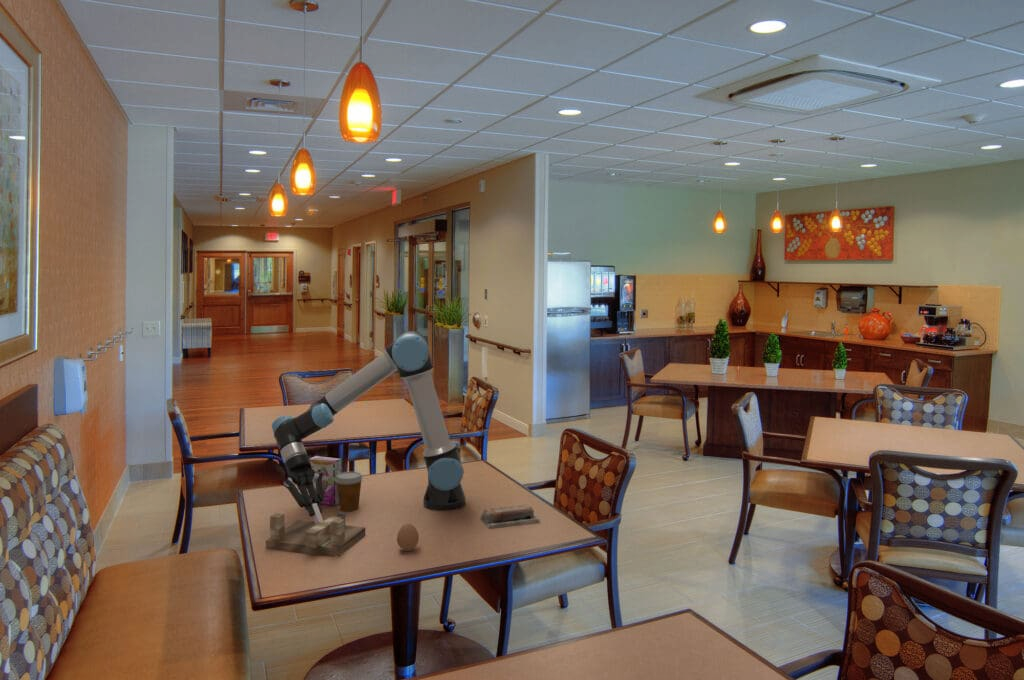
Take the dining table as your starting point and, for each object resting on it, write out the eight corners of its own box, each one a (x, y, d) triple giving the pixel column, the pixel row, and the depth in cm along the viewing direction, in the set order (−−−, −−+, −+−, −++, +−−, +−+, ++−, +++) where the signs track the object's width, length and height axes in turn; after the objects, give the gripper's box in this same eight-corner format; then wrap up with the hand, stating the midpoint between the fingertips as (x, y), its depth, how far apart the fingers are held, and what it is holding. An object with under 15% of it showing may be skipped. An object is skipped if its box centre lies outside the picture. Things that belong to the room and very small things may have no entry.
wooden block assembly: (365, 534, 226) (364, 505, 225) (337, 556, 209) (337, 524, 208) (298, 527, 232) (297, 498, 231) (265, 548, 215) (264, 517, 214)
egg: (403, 545, 218) (403, 519, 217) (422, 547, 216) (422, 521, 215) (393, 553, 212) (393, 526, 211) (413, 555, 210) (412, 528, 209)
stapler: (488, 515, 232) (479, 506, 241) (488, 530, 232) (479, 520, 241) (539, 509, 237) (529, 500, 247) (539, 523, 238) (529, 514, 247)
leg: (332, 530, 222) (332, 516, 222) (342, 531, 221) (341, 517, 221) (305, 546, 209) (305, 531, 209) (315, 547, 208) (315, 533, 208)
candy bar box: (308, 503, 257) (307, 458, 255) (316, 499, 261) (315, 455, 260) (335, 506, 253) (334, 461, 251) (342, 502, 258) (341, 458, 256)
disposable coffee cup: (366, 504, 256) (366, 471, 254) (358, 513, 246) (357, 479, 245) (340, 503, 257) (340, 470, 255) (331, 512, 247) (330, 478, 246)
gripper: (311, 462, 236) (335, 525, 225) (273, 469, 227) (296, 534, 216) (318, 450, 231) (343, 513, 220) (280, 456, 223) (303, 522, 212)
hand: (319, 524), depth 218 cm, fingers closed
